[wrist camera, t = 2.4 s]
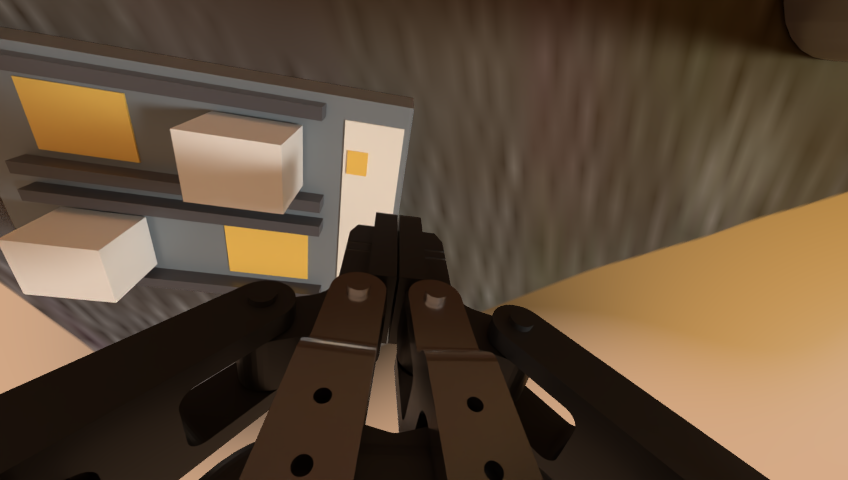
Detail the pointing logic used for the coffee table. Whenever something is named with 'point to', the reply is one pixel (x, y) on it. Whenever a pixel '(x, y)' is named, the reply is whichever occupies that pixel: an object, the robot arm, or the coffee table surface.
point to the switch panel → (156, 165)
